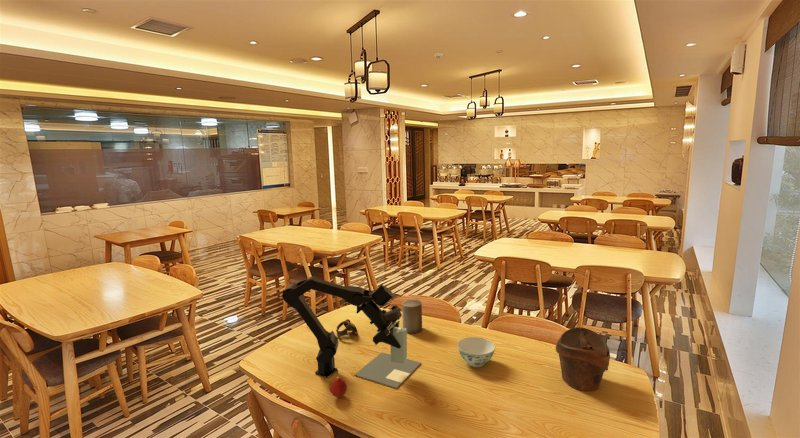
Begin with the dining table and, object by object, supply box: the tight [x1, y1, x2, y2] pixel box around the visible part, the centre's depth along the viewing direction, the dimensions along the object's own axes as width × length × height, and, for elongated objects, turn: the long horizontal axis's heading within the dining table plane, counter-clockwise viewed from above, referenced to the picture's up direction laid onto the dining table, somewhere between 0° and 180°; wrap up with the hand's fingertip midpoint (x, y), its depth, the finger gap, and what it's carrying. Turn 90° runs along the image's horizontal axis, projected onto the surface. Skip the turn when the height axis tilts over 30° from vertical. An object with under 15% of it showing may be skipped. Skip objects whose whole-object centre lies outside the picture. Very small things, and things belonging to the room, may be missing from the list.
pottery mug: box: [335, 318, 359, 338], centre depth 190 cm, size 12×10×8 cm
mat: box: [354, 351, 422, 390], centre depth 159 cm, size 20×19×1 cm
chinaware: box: [457, 336, 496, 368], centre depth 162 cm, size 15×15×8 cm
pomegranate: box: [329, 376, 348, 399], centre depth 140 cm, size 6×6×8 cm
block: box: [390, 326, 408, 364], centre depth 153 cm, size 5×5×12 cm
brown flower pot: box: [555, 327, 611, 392], centre depth 146 cm, size 18×20×18 cm
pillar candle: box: [401, 298, 423, 334], centre depth 194 cm, size 10×10×15 cm
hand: (402, 344), depth 152 cm, fingers closed on block, 5 cm apart
